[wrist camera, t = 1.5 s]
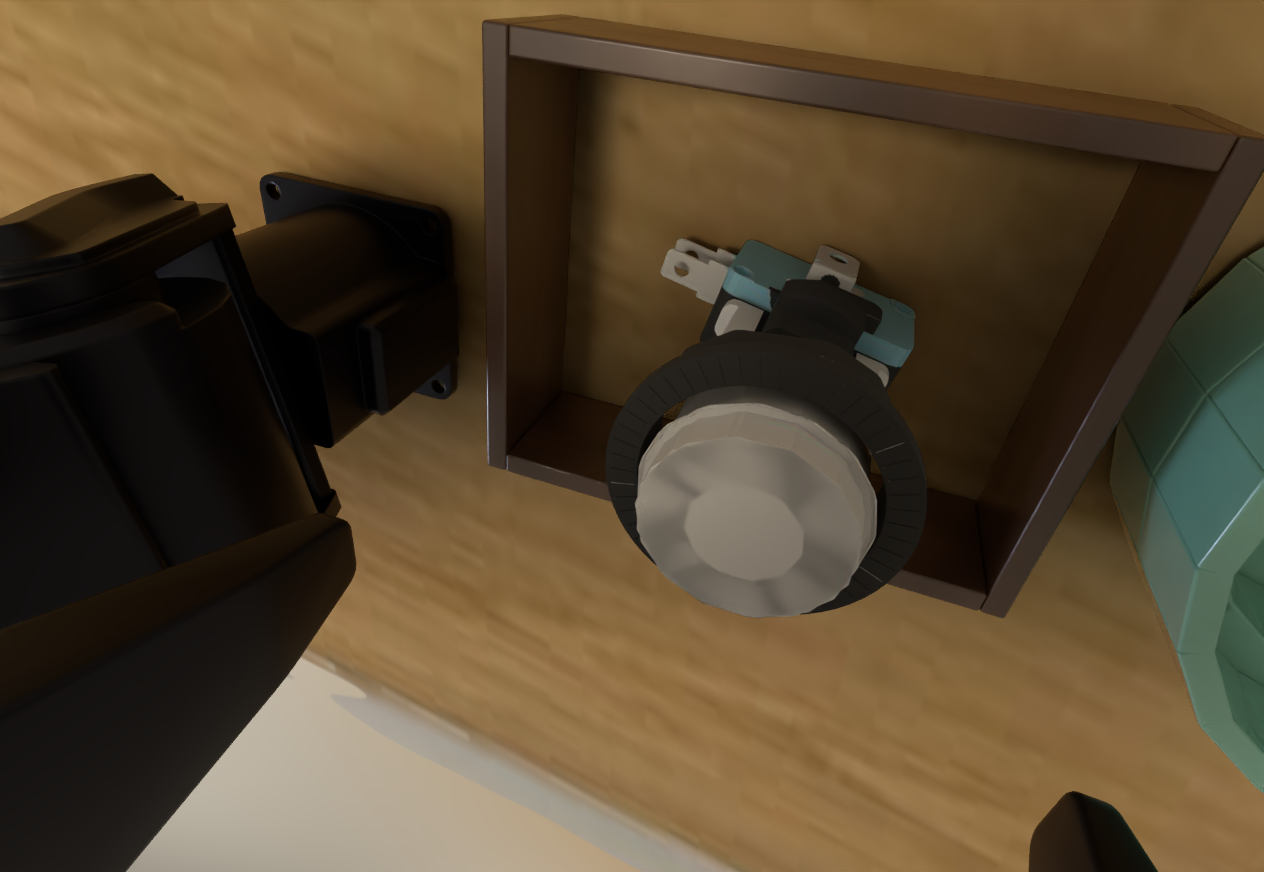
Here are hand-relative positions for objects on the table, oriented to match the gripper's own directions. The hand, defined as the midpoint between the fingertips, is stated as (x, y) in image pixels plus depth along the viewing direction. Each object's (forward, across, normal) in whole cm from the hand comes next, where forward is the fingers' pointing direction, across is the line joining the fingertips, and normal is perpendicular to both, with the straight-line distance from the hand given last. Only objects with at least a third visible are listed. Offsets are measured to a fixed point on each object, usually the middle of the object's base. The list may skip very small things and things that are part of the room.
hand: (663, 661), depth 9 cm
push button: (+13, 0, 0) cm, 13 cm away
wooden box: (+13, 0, 0) cm, 13 cm away
